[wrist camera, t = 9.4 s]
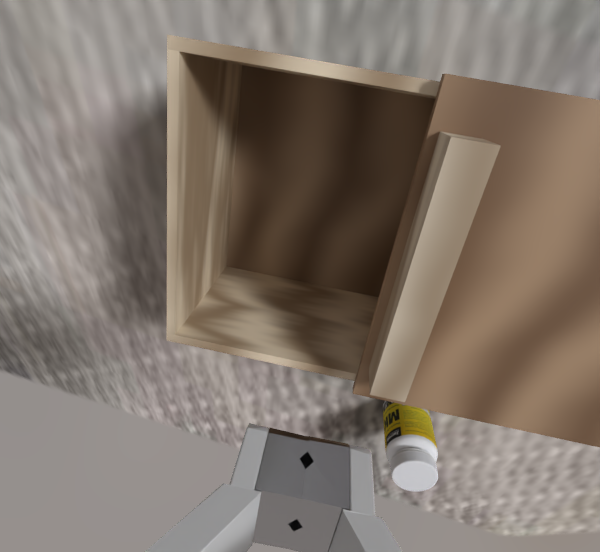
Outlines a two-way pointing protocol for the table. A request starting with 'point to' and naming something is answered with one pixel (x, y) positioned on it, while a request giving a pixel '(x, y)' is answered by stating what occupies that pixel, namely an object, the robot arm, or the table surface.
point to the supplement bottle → (410, 446)
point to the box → (284, 200)
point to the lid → (497, 266)
